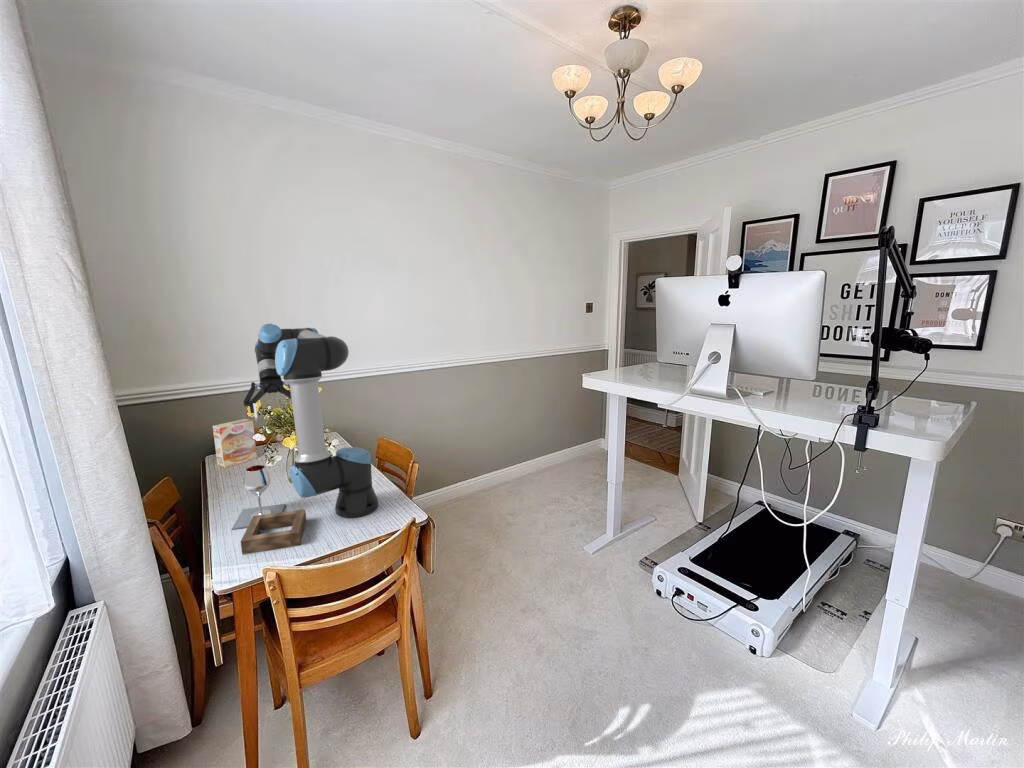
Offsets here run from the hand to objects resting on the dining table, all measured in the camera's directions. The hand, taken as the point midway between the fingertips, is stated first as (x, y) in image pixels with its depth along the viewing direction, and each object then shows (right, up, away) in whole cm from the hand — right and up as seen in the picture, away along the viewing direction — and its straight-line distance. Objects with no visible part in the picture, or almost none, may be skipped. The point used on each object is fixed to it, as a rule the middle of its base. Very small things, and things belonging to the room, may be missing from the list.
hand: (277, 417), depth 160 cm
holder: (+12, -38, -22) cm, 46 cm away
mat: (0, -35, -10) cm, 37 cm away
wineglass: (0, -35, -10) cm, 36 cm away
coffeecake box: (-42, -25, +40) cm, 63 cm away
